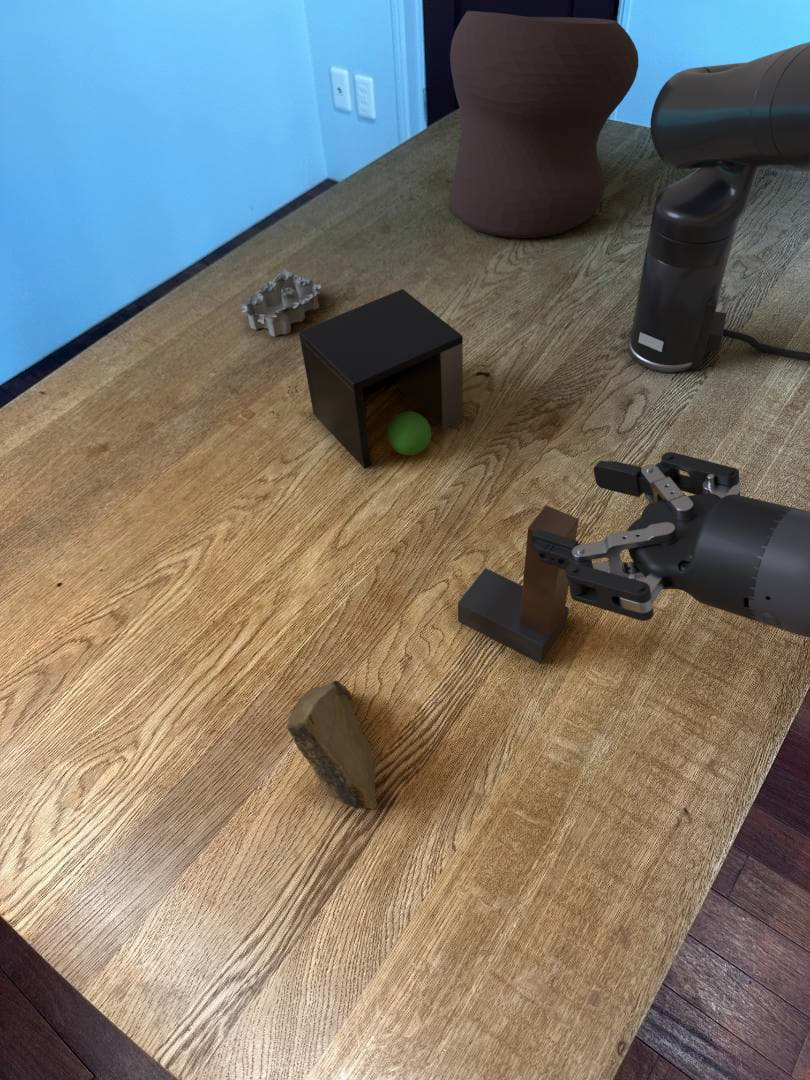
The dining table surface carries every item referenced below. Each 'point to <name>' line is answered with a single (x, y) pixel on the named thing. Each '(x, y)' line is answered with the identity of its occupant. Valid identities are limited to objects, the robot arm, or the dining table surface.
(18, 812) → the dining table surface
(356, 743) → the rock
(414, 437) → the ball
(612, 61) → the vase
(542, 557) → the robot arm
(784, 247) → the dining table surface
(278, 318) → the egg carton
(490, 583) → the post on dark base
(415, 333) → the black open box
